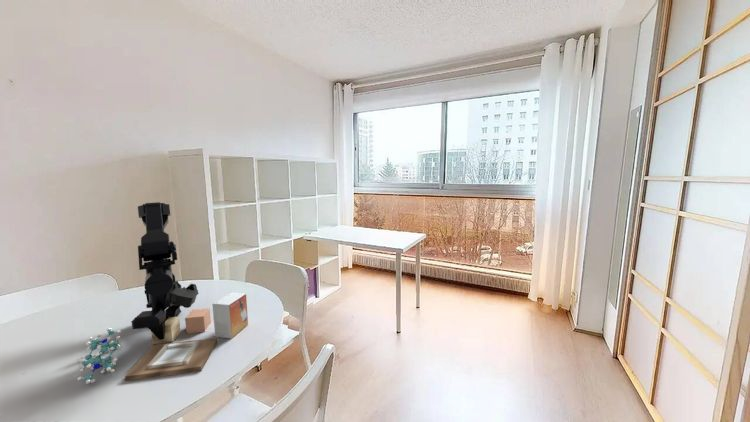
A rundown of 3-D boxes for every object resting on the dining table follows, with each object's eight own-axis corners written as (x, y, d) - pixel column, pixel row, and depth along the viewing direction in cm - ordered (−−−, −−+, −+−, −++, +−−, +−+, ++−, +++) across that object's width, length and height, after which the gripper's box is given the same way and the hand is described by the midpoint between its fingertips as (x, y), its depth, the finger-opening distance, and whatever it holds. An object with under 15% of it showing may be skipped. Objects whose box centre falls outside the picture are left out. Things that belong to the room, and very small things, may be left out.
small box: (231, 339, 81) (228, 305, 80) (214, 337, 82) (211, 303, 81) (249, 324, 89) (246, 293, 88) (233, 322, 90) (230, 291, 89)
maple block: (152, 344, 79) (150, 327, 78) (161, 334, 84) (159, 318, 83) (172, 341, 80) (170, 325, 79) (180, 331, 85) (178, 316, 84)
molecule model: (128, 343, 80) (124, 319, 79) (121, 379, 66) (116, 351, 65) (87, 354, 75) (83, 329, 74) (71, 396, 61) (65, 366, 60)
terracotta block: (186, 333, 84) (185, 318, 84) (193, 324, 89) (192, 309, 88) (205, 331, 85) (203, 316, 85) (210, 322, 90) (209, 308, 90)
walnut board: (125, 381, 65) (124, 373, 65) (153, 349, 77) (152, 342, 77) (201, 370, 69) (200, 363, 68) (217, 341, 80) (217, 335, 80)
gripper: (176, 294, 72) (183, 350, 74) (204, 269, 90) (208, 314, 92) (126, 298, 70) (134, 356, 72) (165, 271, 88) (170, 318, 90)
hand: (166, 333), depth 82 cm, fingers closed on maple block, 5 cm apart
